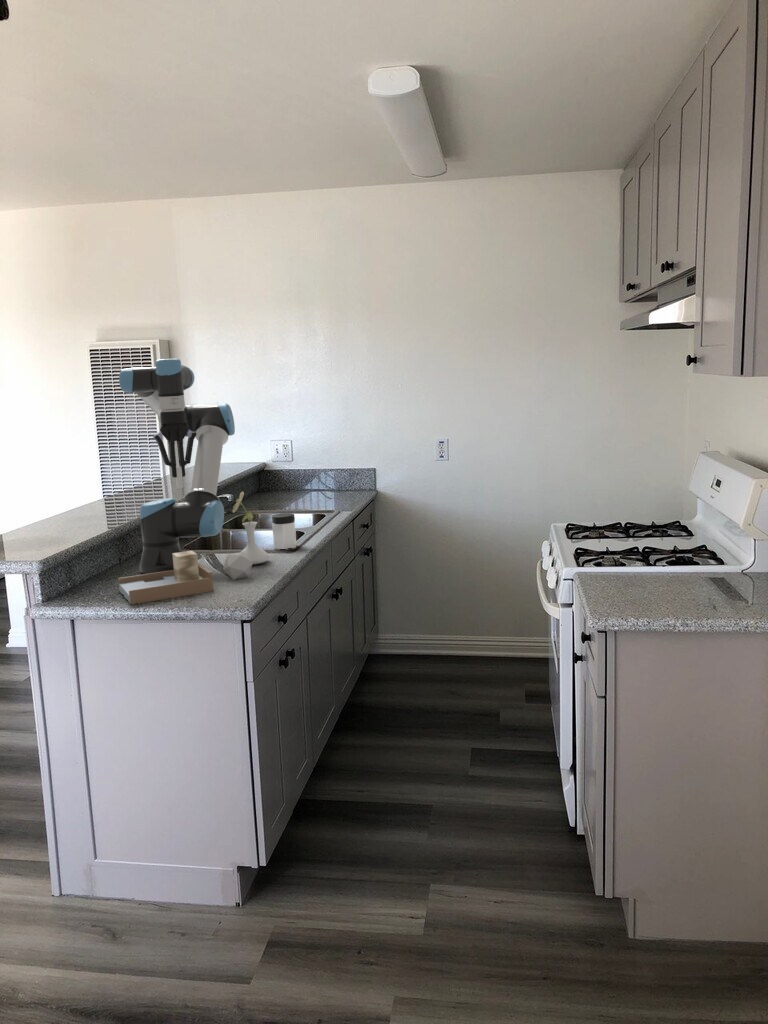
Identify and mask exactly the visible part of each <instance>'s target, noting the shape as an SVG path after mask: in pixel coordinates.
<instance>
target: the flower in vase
mask: <svg viewBox="0 0 768 1024" xmlns="http://www.w3.org/2000/svg"><path fill="white" fill-rule="evenodd" d="M244 495H245V493H244V491H241V492H240V493H239V496H238V498H237V499H236V500H235V502H236V503H234V505H233V507H232V508H233V509H232V510H231V512H232V513H233V514H234V513H235V512H237V510H238V508H239V507H240V506H242V508H243V509H244V511H245V513H246V514H245V515H244V516H243V517H242V521H241V523H242V525H243V527H244V528H245V532H246V536H247V545H246V546H245V547H244V548H243V549H242V550H241V551H240V552H243V553H244V554H245V555H246V556H247V557H248V558H249V559H250V560H251V561H252V562H253V564H252V566H253V565H259V564H262V563H266V562H267V561H268V560H269V559H270V555H269V553H267V552H266V551H265V550H264V549H262V548H261V547H260V546H258V545H257V543H256V541H255V530H256V527H257V524H258V522H257V521H251V520H252V519H253V518H254V515H253V514H252V511H250V510H249V511H247V508H245V506H244V504H243V503H242V502H243V501H242V500H243V497H244ZM246 520H248V521H246ZM245 521H246V522H245Z"/></svg>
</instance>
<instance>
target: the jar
mask: <svg viewBox="0 0 768 1024" xmlns="http://www.w3.org/2000/svg"><path fill="white" fill-rule="evenodd" d="M295 519H296V518H295V513H292V512H289V513H288V512H284V513H283V512H281V513H276V514H272V515H271V522H272V524H271V526H272V537H273V538H272V539H273V540H272V541H273V549H274V550H280V549H286V548H289V547H290V548H292V549H296V548H297V533H296V522H295ZM286 550H287V549H286Z"/></svg>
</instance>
